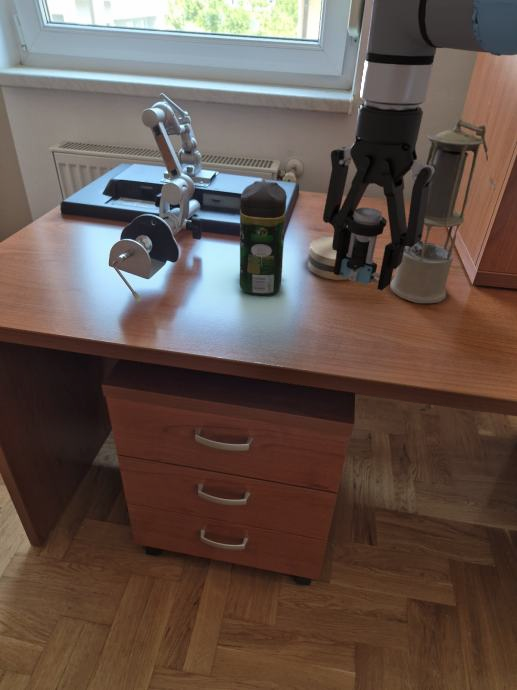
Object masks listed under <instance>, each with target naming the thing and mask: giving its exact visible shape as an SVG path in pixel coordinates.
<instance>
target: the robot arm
mask: <svg viewBox="0 0 517 690" xmlns="http://www.w3.org/2000/svg"><path fill="white" fill-rule="evenodd" d="M369 22H370V24H369V32H368V38H367V47H366V54H365V61H364V68H363V75H362V81H361V88H360V93H359V97H360V99H361V100H362V101H364V102H362V103H361V104H360V105H359V106H358V109H357V117H356V124H355V132H354V133H355V138H354V142H353V143H352V145H351V146H350V147H348V148H347V147H346V146H345V147H344V146H342V147H340V148H336V149H332V151H331V152H330V161H331V172H330V176H329V177H330V178H329V183H328V188H327V192H326V199H325V205H324V210H323V213H322V214H323V215H322V220H323V222H324V223H325V224H330V225H331V226H332V228H333V229H334V230H333V236H332V237H333V244H332V247H333V250H336V251H337V253H336V260H335V268H334V274H335V275H339V274H340V269H341V263H342V260H343V259H344V258H346V257H347V256H346V254H347V253H348V251H349V245H350V239H351V233H352V232H351V231H350V230H349V229H348V228H347V226H348V222H347V217H348V215H350V214H352V213H355V210H356V209H358V206H359V204H360V202H361V200H362V198H363V196H364V194H365V192H366V190H367V188H368V186H369V185H371V184H375V185H377V186H378V187H380V188H382V190H383V195H384V196H385V198H386V199H385V200H386V207H387V214H388V215H387V216H388V223H389V232H390V240H391V242H389V243H388V244H386V245H385V246H384V251H383V257H382V261H381V267H380V272H379V275H380V276H379V277H378V280H379V282H378V283H377V287H376V289H377V290H379V291H384V290H385V289H386V288H387V287H388V286H389V285H391V281H392V279H393V273H394V270H396V269H397V267H398V266H400V264H401V262H402V258H403V253H404V249H405V246H409V247H412V246H414V245H415V244H416V243H418V242H419V241H420V240H421V241H422V238H423V233H424V227H423V226H425V225H424V220H425V213H426V206H427V200H428V193H429V186H430V183H431V181H432V179H433V177H434V175H435V173H436V171H437V167H436V165H434V164H431V165H430V164H429V165H427V164H426V162H423V161H421V160H419V159H418V155H417V152H416V151H417V149H416V147H417V142H418V140H419V139H418V138H419V133H420V129H421V124H422V119H423V114H424V111H423V109H422V108H421V106H420V105H422V104H423V103H425V102H426V98H427V94H428V91H429V90H428V89H429V85H430V80H431V76H432V75H431V74H432V70H433V67H434V66H433V65H434V60H435V56H436V53H437V49H451V50H459V51H460V50H461V51H468V52H476V53H477V52H478V53H487V54H490V55H492V56H498V57H501V56H516V55H517V0H372V8H371V16H370V21H369ZM351 162H353V164H354V166H355V169H356V172H355V174H354V176H353V179H352V180H351V183H350V184H351V185H350V188H349V191H348V193H347V194H346V196H345V198H344V201H343V197H344V192H345V189H346V188H345V187H346V182H347V178H348V173H349V168H350V167H349V165H350V164H351ZM410 171H412V180H413V181H414V182H413V184H412V185H413V186H412V190H411V197H410V204H409V211H408V219H407V216H406V207H405V196H404V189H405V181H404V180H405V179H404V176H405V175H407V174H408V172H410ZM407 226H408V227H407Z"/></svg>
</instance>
